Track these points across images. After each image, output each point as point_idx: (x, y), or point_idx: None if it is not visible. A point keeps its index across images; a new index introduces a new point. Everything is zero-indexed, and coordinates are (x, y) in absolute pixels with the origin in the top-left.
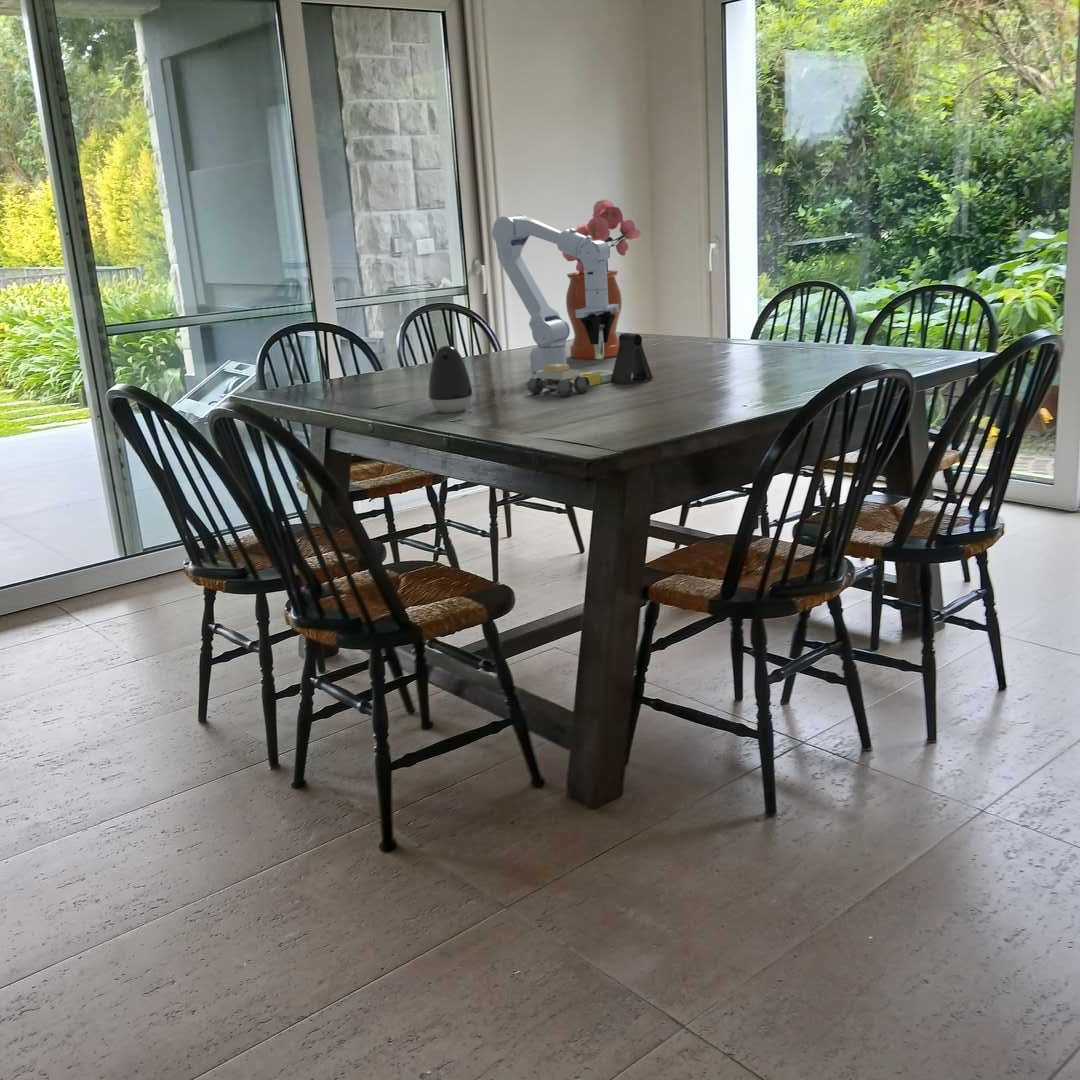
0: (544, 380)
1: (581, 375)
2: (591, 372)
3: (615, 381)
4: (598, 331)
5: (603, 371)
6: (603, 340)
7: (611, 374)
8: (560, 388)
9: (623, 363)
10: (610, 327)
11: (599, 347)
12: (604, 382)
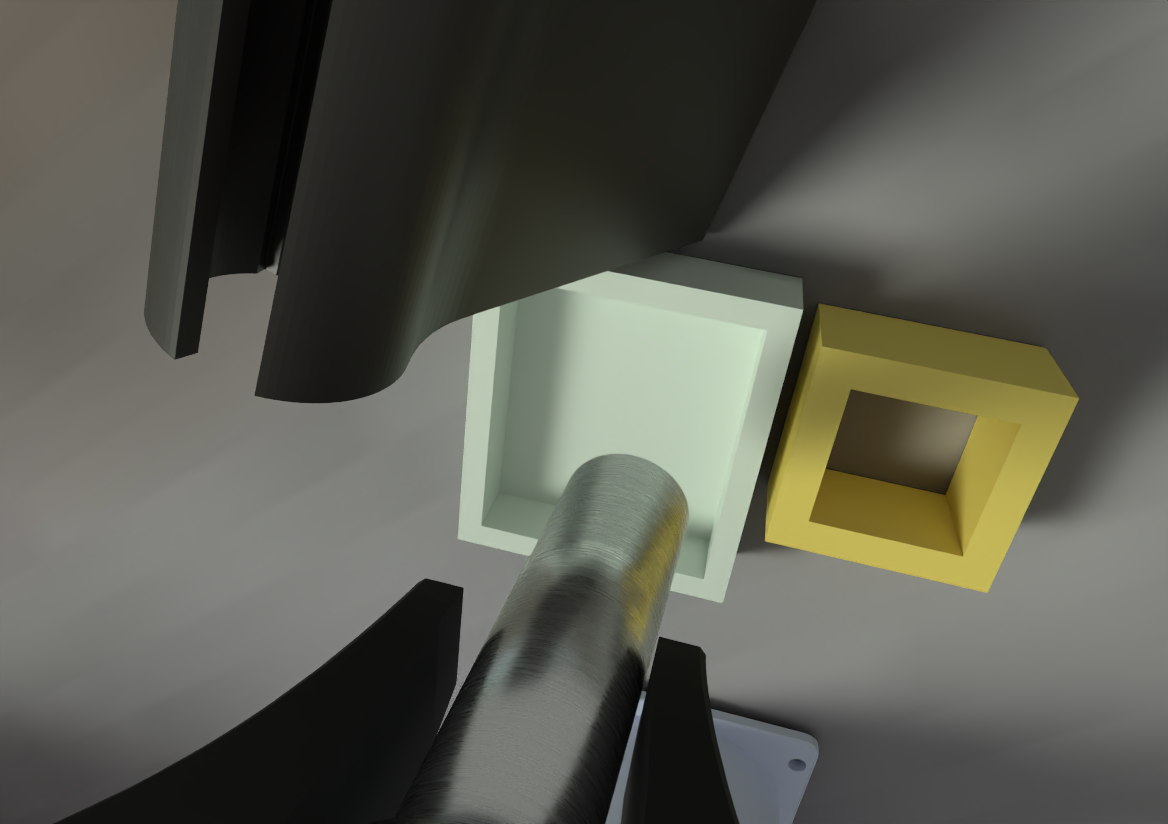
0: (792, 816)
1: (883, 530)
2: None
3: (742, 155)
4: (659, 814)
5: (489, 458)
6: (528, 626)
7: (645, 276)
8: None
9: (679, 74)
10: (238, 731)
11: (647, 587)
12: (781, 276)
